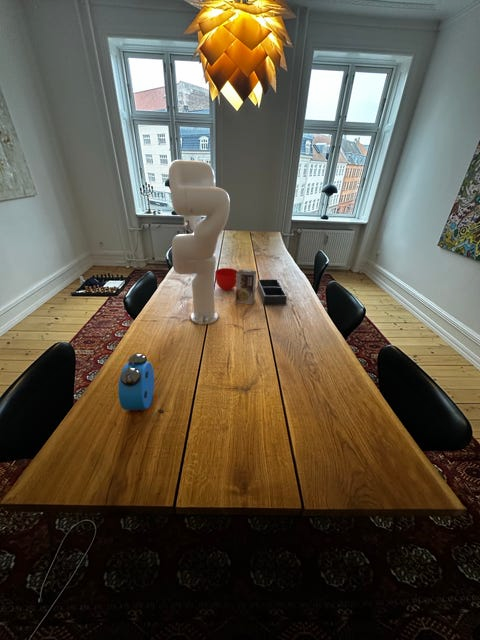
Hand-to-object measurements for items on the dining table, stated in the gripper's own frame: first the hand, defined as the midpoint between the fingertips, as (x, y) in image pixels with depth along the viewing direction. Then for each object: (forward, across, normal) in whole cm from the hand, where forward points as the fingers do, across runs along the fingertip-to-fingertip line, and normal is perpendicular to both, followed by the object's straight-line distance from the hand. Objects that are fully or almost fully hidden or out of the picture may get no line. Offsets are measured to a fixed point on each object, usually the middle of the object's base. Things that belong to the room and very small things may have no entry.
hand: (193, 241), depth 126 cm
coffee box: (+29, +2, -27) cm, 40 cm away
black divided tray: (+29, +14, -39) cm, 50 cm away
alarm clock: (+30, -74, -17) cm, 81 cm away
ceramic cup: (+29, +13, -14) cm, 34 cm away
